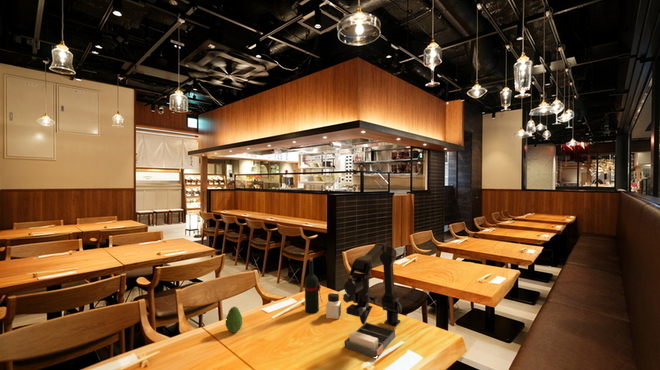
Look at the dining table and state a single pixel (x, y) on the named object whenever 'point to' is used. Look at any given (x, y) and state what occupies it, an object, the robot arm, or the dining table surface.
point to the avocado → (234, 320)
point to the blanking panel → (363, 340)
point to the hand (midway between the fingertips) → (363, 323)
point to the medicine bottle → (333, 306)
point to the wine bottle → (311, 291)
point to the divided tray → (375, 331)
